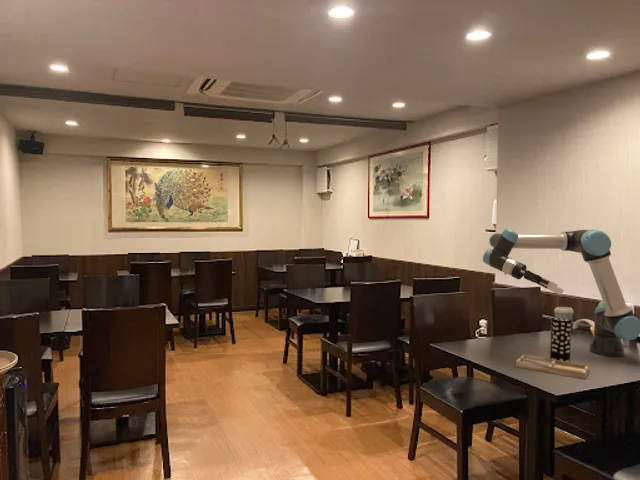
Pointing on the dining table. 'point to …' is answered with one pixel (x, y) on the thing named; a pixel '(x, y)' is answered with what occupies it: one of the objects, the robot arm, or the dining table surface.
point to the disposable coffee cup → (563, 312)
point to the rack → (553, 366)
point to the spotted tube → (560, 339)
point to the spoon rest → (583, 320)
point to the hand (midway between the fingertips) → (559, 290)
